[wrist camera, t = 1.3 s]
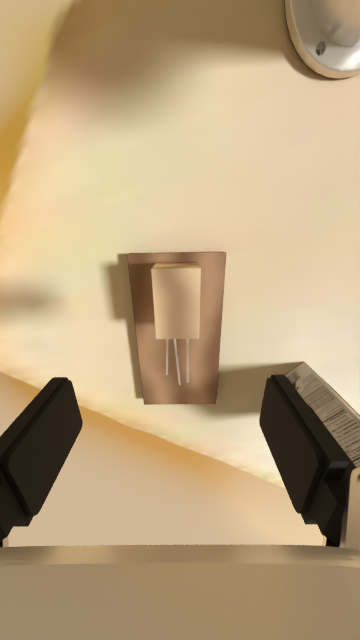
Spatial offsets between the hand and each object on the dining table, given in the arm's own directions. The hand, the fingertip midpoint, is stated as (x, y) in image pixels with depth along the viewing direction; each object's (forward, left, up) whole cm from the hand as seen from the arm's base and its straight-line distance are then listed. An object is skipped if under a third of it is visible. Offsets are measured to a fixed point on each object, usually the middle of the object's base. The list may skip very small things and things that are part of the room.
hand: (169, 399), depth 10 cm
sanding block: (0, 0, -18) cm, 18 cm away
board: (0, +7, -20) cm, 21 cm away
